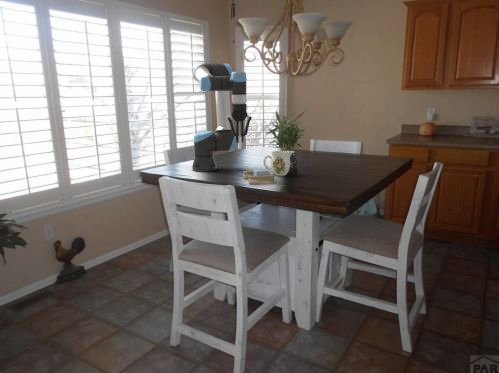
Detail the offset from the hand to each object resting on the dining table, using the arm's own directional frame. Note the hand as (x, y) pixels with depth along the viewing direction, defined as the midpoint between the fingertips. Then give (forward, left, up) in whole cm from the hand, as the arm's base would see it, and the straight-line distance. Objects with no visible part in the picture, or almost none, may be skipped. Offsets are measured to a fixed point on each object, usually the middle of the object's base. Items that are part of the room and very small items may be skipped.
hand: (239, 148), depth 209 cm
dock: (+1, +9, -18) cm, 20 cm away
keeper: (+1, +11, -18) cm, 21 cm away
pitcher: (-11, +25, -18) cm, 33 cm away
